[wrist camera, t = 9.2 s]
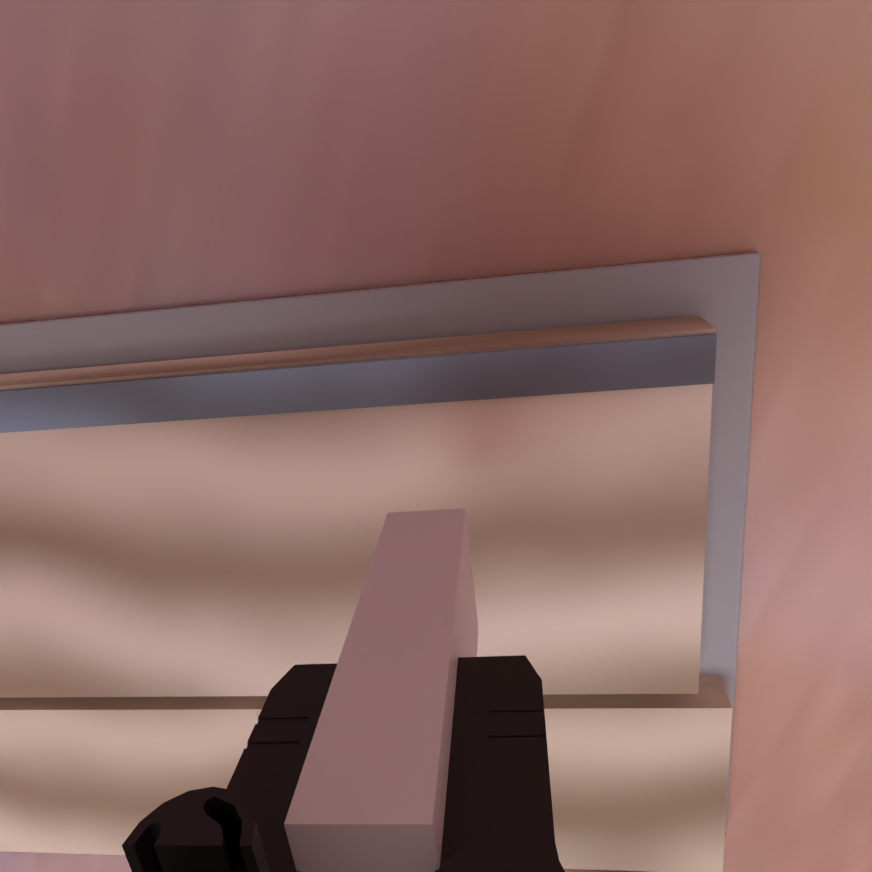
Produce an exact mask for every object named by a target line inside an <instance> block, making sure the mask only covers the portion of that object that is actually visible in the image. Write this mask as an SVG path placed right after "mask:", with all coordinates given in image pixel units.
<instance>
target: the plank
mask: <svg viewBox="0 0 872 872" xmlns="http://www.w3.org/2000/svg"><path fill="white" fill-rule="evenodd" d="M716 343H717V334H716V333H715V328H714V327H712V326H711V325H710V324H709V323H708V322H706V321H705V320H704V319H703V318H702V317H700V316H695V317H683V318H671V319H659V320H647V321H635V322H623V323H611V324H599V325H587V326H575V327H563V328H551V329H539V330H527V331H515V332H503V333H491V334H479V335H467V336H455V337H443V338H431V339H419V340H407V341H395V342H383V343H371V344H359V345H347V346H335V347H323V348H311V349H299V350H287V351H275V352H263V353H251V354H239V355H227V356H215V357H203V358H191V359H179V360H167V361H155V362H143V363H131V364H119V365H107V366H95V367H83V368H71V369H59V370H47V371H35V372H23V373H11V374H0V698H19V697H197V696H268V694H269V692H270V690H271V689H272V688H273V687H274V686H275V684H276V683H277V682H278V681H279V680H280V679H281V678H282V677H283V676H284V675H285V674H286V673H287V672H288V671H289V670H290V669H291V668H292V667H293V666H294V665H301V664H334V663H338V660H339V657H340V654H341V651H342V648H343V645H344V642H345V639H346V636H347V633H348V630H349V627H350V624H351V621H352V618H353V615H354V612H355V609H356V606H357V603H358V600H359V597H360V594H361V591H362V588H363V585H364V582H365V579H366V576H367V573H368V570H369V567H370V564H371V561H372V558H373V555H374V552H375V549H376V546H377V543H378V540H379V537H380V534H381V531H382V528H383V525H384V522H385V519H386V516H387V513H393V512H410V511H427V510H444V509H461V508H465V509H466V519H467V528H468V537H469V546H470V555H471V564H472V573H473V583H474V592H475V601H476V610H477V619H478V646H477V657H487V656H519V655H526V657H527V658H528V660H529V661H530V663H531V664H532V666H533V667H534V669H535V670H536V672H537V673H538V675H539V676H540V678H541V680H542V689H543V695H554V694H698V691H699V669H700V648H701V626H702V604H703V582H704V561H705V539H706V517H707V495H708V474H709V452H710V430H711V408H712V387H713V384H715V364H716Z"/></svg>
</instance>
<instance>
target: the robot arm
mask: <svg viewBox="0 0 872 872" xmlns="http://www.w3.org/2000/svg"><path fill="white" fill-rule="evenodd" d="M477 646H478V619H477V610H476V601H475V592H474V583H473V573H472V564H471V555H470V546H469V537H468V528H467V519H466V509H465V508H461V509H444V510H427V511H410V512H393V513H387V516H386V519H385V522H384V525H383V528H382V531H381V534H380V537H379V540H378V543H377V546H376V549H375V552H374V555H373V558H372V561H371V564H370V567H369V570H368V573H367V576H366V579H365V582H364V585H363V588H362V591H361V594H360V597H359V600H358V603H357V606H356V609H355V612H354V615H353V618H352V621H351V624H350V627H349V630H348V633H347V636H346V639H345V642H344V645H343V648H342V651H341V654H340V657H339V660H338V663H334V664H301V665H294V666H293V667H292V668H291V669H290V670H289V671H288V672H287V673H286V674H285V675H284V676H283V677H282V678H281V679H280V680H279V681H278V682H277V683H276V684H275V686H274V687H273V688H272V689H271V690H270V692H269V694H268V697H267V699H266V701H265V703H264V706H263V708H262V710H261V712H260V715H259V717H258V724H255V726H254V728H253V730H252V733H251V735H250V737H249V739H248V742H247V748H244V751H243V753H242V755H241V757H240V759H239V762H238V764H237V766H236V768H235V771H234V773H233V775H232V777H231V780H230V782H229V784H228V786H227V789H224V788H218V787H208V788H202V789H196V790H191V791H187V792H185V793H183V794H181V795H179V796H177V797H175V798H172V799H170V800H168V801H166V802H164V803H162V804H161V805H160V806H159V807H157V808H156V809H155V810H154V811H152V812H151V813H150V814H149V815H147V816H146V817H145V818H144V819H142V820H141V821H140V822H139V823H138V825H137V826H136V827H135V829H134V830H133V831H132V832H131V834H130V835H129V836H128V838H127V839H126V840H125V842H124V843H123V844H122V847H123V850H124V852H125V855H126V857H127V860H128V862H129V865H130V867H131V870H132V872H565V871H564V869H563V867H562V865H561V863H560V861H559V857H558V853H557V848H556V844H555V835H554V822H553V810H552V798H551V786H550V774H549V762H548V749H547V738H546V725H545V713H544V701H543V689H542V680H541V678H540V676H539V675H538V673H537V672H536V670H535V669H534V667H533V666H532V664H531V663H530V661H529V660H528V658H527V657H526V655H519V656H487V657H477Z"/></svg>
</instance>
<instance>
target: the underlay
mask: <svg viewBox="0 0 872 872" xmlns="http://www.w3.org/2000/svg"><path fill="white" fill-rule="evenodd" d="M760 257H761V253H757V252H750V253H740V254H729V255H719V256H708V257H698V258H687V259H677V260H666V261H656V262H645V263H635V264H624V265H614V266H603V267H593V268H582V269H572V270H562V271H551V272H541V273H530V274H520V275H509V276H499V277H488V278H478V279H467V280H457V281H446V282H436V283H425V284H415V285H404V286H394V287H384V288H373V289H363V290H352V291H342V292H331V293H321V294H310V295H300V296H289V297H279V298H268V299H258V300H247V301H237V302H226V303H216V304H206V305H195V306H185V307H174V308H164V309H153V310H143V311H132V312H122V313H111V314H101V315H90V316H80V317H69V318H59V319H48V320H38V321H28V322H17V323H7V324H0V374H11V373H23V372H35V371H47V370H59V369H71V368H83V367H95V366H107V365H119V364H131V363H143V362H155V361H167V360H179V359H191V358H203V357H215V356H227V355H239V354H251V353H263V352H275V351H287V350H299V349H311V348H323V347H335V346H347V345H359V344H371V343H383V342H395V341H407V340H419V339H431V338H443V337H455V336H467V335H479V334H491V333H503V332H515V331H527V330H539V329H551V328H563V327H575V326H587V325H599V324H611V323H623V322H635V321H647V320H659V319H671V318H683V317H695V316H700V317H702V318H703V319H704V320H705V321H706V322H708V323H709V324H710V325H711V326H712V327H714V328H715V333H716V334H717V343H716V364H715V384H713V387H712V408H711V430H710V452H709V474H708V495H707V517H706V539H705V561H704V582H703V604H702V626H701V648H700V669H699V676H719V677H720V679H721V682H722V684H723V687H724V689H725V692H726V694H727V696H728V699H729V701H730V704H731V706H732V723H731V739H730V756H729V773H728V790H727V807H726V824H725V836H726V826H727V810H728V793H729V776H730V759H731V743H732V726H733V709H734V692H735V676H736V659H737V642H738V626H739V609H740V592H741V575H742V559H743V542H744V525H745V508H746V492H747V475H748V458H749V441H750V425H751V408H752V391H753V375H754V358H755V341H756V324H757V308H758V291H759V274H760Z"/></svg>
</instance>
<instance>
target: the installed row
mask: <svg viewBox="0 0 872 872" xmlns="http://www.w3.org/2000/svg"><path fill="white" fill-rule="evenodd" d="M267 697H268V696H197V697H19V698H0V851H12V852H44V853H75V854H107V855H125V852H124V850H123V847H122V844H123V843H124V842H125V840H126V839H127V838H128V836H129V835H130V834H131V832H132V831H133V830H134V829H135V827H136V826H137V825H138V823H139V822H140V821H141V820H142V819H144V818H145V817H146V816H147V815H149V814H150V813H151V812H152V811H154V810H155V809H156V808H157V807H159V806H160V805H161V804H162V803H164V802H166V801H168V800H170V799H172V798H175V797H177V796H179V795H181V794H183V793H185V792H187V791H191V790H196V789H202V788H208V787H218V788H224V789H227V786H228V784H229V782H230V780H231V777H232V775H233V773H234V771H235V768H236V766H237V764H238V762H239V759H240V757H241V755H242V753H243V751H244V748H247V742H248V739H249V737H250V735H251V733H252V730H253V728H254V726H255V724H258V717H259V715H260V712H261V710H262V708H263V706H264V703H265V701H266V699H267ZM543 701H544V713H545V725H546V738H547V749H548V762H549V774H550V786H551V798H552V810H553V822H554V835H555V844H556V848H557V853H558V857H559V861H560V863H561V865H562V867H563V869H586V870H618V871H650V872H723V858H724V841H725V824H726V807H727V790H728V773H729V756H730V739H731V723H732V706H731V704H730V701H729V699H728V696H727V694H726V692H725V689H724V687H723V684H722V682H721V679H720V677H719V676H699V691H698V694H554V695H543Z"/></svg>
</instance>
